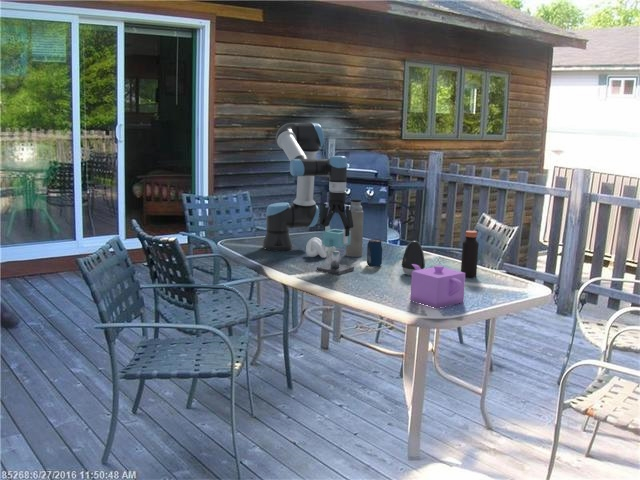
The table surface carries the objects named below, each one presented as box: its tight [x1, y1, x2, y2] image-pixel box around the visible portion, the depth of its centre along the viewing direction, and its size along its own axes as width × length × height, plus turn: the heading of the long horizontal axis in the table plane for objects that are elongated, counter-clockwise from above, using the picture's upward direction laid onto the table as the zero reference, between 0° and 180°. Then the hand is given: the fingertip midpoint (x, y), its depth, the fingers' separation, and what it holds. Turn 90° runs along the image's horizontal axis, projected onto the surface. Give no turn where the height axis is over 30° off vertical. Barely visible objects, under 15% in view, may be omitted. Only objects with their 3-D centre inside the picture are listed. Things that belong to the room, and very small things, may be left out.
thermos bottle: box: [345, 198, 364, 258], centre depth 321 cm, size 8×8×28 cm
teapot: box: [409, 264, 466, 309], centre depth 244 cm, size 15×25×14 cm, turn 38°
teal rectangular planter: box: [321, 228, 351, 248], centre depth 288 cm, size 14×9×6 cm, turn 143°
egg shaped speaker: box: [401, 240, 426, 277], centre depth 285 cm, size 10×10×15 cm
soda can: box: [366, 238, 383, 268], centre depth 301 cm, size 7×7×12 cm
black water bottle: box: [460, 230, 479, 279], centre depth 284 cm, size 7×7×20 cm
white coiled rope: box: [305, 236, 330, 259], centre depth 318 cm, size 11×12×9 cm
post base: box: [316, 250, 355, 276], centre depth 290 cm, size 12×12×8 cm
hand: (336, 242), depth 288 cm, fingers closed on teal rectangular planter, 9 cm apart
